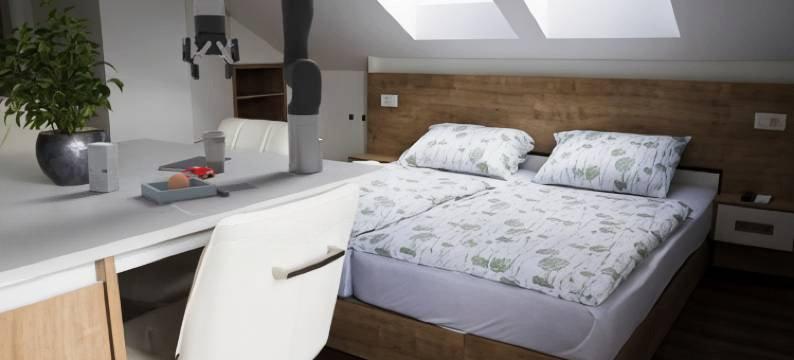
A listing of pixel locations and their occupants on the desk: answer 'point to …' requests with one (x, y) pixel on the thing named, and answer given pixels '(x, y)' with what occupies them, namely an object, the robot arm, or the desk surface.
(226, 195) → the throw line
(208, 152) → the cup
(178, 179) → the ball
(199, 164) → the notebook
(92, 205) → the desk surface
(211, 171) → the race car
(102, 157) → the skincare box
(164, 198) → the blue-grey tray
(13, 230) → the desk surface
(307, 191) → the desk surface
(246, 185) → the tee mat
